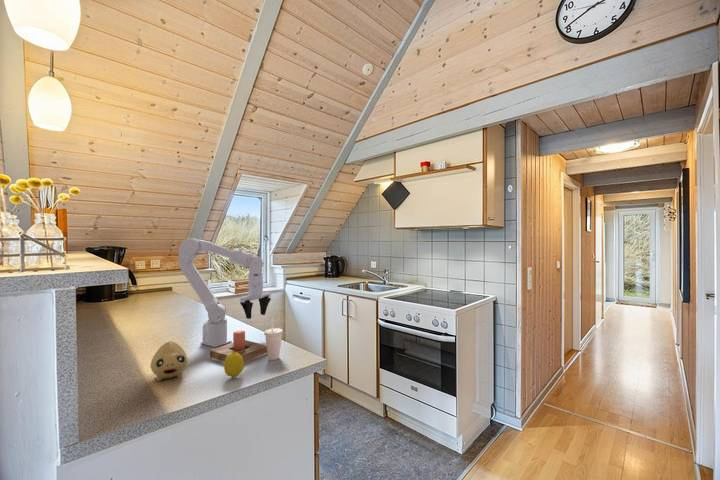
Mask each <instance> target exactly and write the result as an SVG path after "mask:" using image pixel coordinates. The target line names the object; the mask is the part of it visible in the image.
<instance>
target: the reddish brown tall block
mask: <svg viewBox="0 0 720 480" xmlns="http://www.w3.org/2000/svg"><path fill="white" fill-rule="evenodd" d="M232 337H233V339H232V343H233V350H234V351H241V350H244V349H245V340H246V331H244V330H236V331H234V332H233V334H232Z"/></svg>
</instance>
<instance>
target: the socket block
mask: <svg viewBox="0 0 720 480" xmlns="http://www.w3.org/2000/svg"><path fill="white" fill-rule="evenodd" d="M232 352H236V353H239V354H240V355H241V356H242V358H243V362H244V364H246V363H249V362H251V361H253V360H254V361H255V360H256V359H259V358H261V357H263V356H266V355H268V352H267V345H266V344H262V343H259V342H255V341H251V340H247V339H245V349H244V350H241V351H234V350H233V342H230V343H227V344H224V345H220V346H217V347H214V348H212V349H210V350H209V359H210V360H212V361H216V362H219V363H223V364H224V362H225V359H226V357H227V356H228V355H229V354H231V353H232Z"/></svg>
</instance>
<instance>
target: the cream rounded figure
mask: <svg viewBox="0 0 720 480" xmlns="http://www.w3.org/2000/svg"><path fill="white" fill-rule="evenodd" d="M188 360H189V359H188V356H187V353H186V351H185V350H184V349H183V347H181V345H180V344H178V343H176V342H175V341H167V342H164V344H162V345H161V346H160V347H159V348H158V349H157V351H156V352H155V353H154V355H153V357H152V358H151V361H150V366H149V367H150V369H151V372H152V373H153V374H154V375H155V376H156V380H157V381H162V380H163V379H171V378H173V377H177V378H181V377H182V373H183V371H184V370H185V369H186V367H187V365H188Z"/></svg>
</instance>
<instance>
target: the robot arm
mask: <svg viewBox="0 0 720 480" xmlns="http://www.w3.org/2000/svg"><path fill="white" fill-rule="evenodd" d="M199 252H200V253H205V252H211V253H214V254H217V255H220V256H224V257H226V258H229V261H230V262H232V263H234V264H237V265H240V266H242V267H246V268H247V267H248V294H247V295H244V296H240V297H239V302H240V306H241V307H242V309H243V312H244V314H245V318H246V319H247V320H249V319H250V320H251V319H252V311H253V310H252V309H253V306H254V305H253V304H254V302H252V301H255V300H258V302H259V311H260V315H261V316H265V315H266V312H267V310H268V309H267V308H268V306H269V304H270V301H271V292H269V291H266V292H264V291H263V289H264V287H263V286H264V277H263V267H264V261H263V259H262V258H261V257H260V256H258V255H257V254H256V255H255V254H254V253H252V252H251V253H249V252H247V251H244V250H243V249H242V248H239V249H238V248H234V249H233V250H231V249H229V248H227V247H223V246H221V245H219V244H215V242H211V241H208V240H202V239H197V238H193V237H188V238H185V239H184V240H182V242H181V244H180V245H179V247H178V261H177V262H178V267H179V269H180V270H181V272H182V273H183V275H184V276H185V278H186V279H187V281H188V282H189V284H190V286H191V287H192V288H193V289H194V291H195V293H196V294H197V296H198V298H199V299H200V300H201V302H202V304H203V306H204V309H205V310H206V312H207V317H208V320H206V321H205V322H204V323H203V325H202V341H201V342H200V344H201V345H206V346H209V347H212V348H218V347H221V346H224V345H227V344H230V343H233V340H230V339H228V321H227V320H228V318H226V310H227V309H226V306H225V305H224V304H223V303H222V302H220V301H219V300H218V298H217V297H216V296H215V295H214V294H213V292H212V290H211V288H209V286H208V284H207V282H206V281H205V279H204V278H203V277H202V274H201V273H200V272H199V270H198V269H197V267H196V266H195V264H194V262H195V260H196V257H197V255H198V253H199Z"/></svg>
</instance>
